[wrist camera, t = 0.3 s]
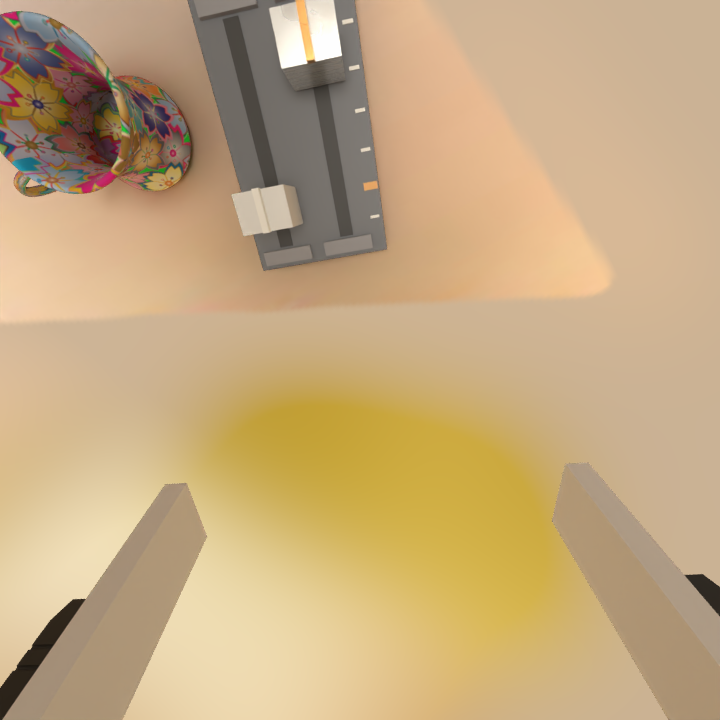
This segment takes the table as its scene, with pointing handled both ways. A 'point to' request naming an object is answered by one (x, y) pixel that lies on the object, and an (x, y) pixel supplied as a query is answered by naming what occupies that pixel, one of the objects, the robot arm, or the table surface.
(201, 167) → the table surface
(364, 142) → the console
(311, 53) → the fader
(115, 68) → the table surface
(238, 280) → the table surface
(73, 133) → the mug
